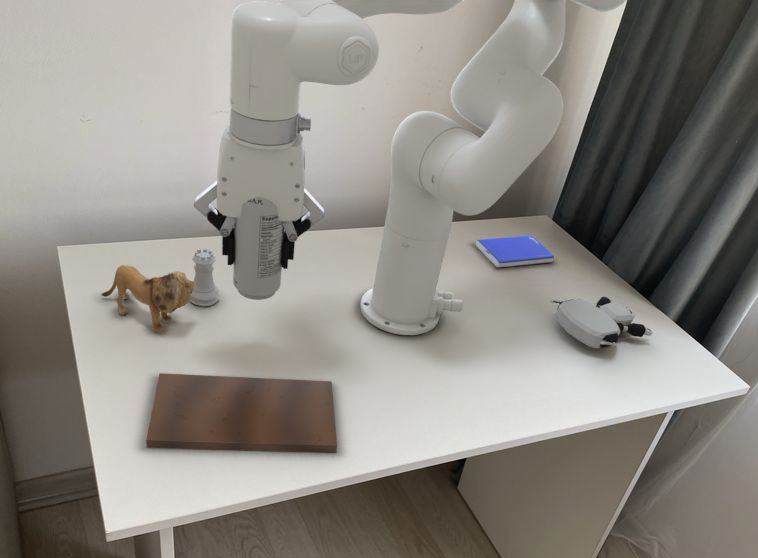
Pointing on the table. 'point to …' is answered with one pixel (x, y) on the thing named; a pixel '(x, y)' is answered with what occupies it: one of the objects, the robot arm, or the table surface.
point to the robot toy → (597, 321)
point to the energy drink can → (258, 249)
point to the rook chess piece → (204, 279)
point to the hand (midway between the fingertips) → (258, 260)
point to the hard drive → (514, 251)
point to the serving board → (242, 414)
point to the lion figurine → (153, 292)
